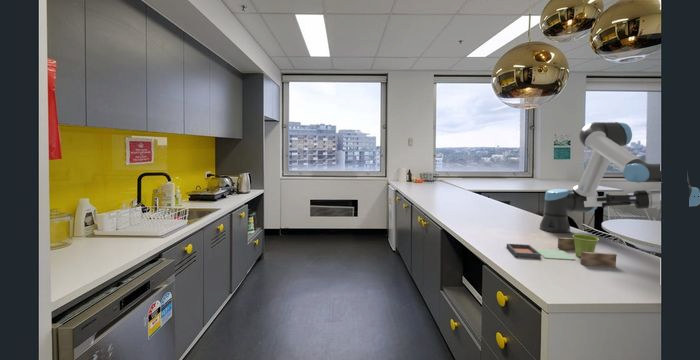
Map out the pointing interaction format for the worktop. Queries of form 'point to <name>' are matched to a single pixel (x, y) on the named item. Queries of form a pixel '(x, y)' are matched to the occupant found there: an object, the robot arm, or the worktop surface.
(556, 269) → the worktop surface
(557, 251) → the pad
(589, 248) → the plant pot
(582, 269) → the worktop surface
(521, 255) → the tray
